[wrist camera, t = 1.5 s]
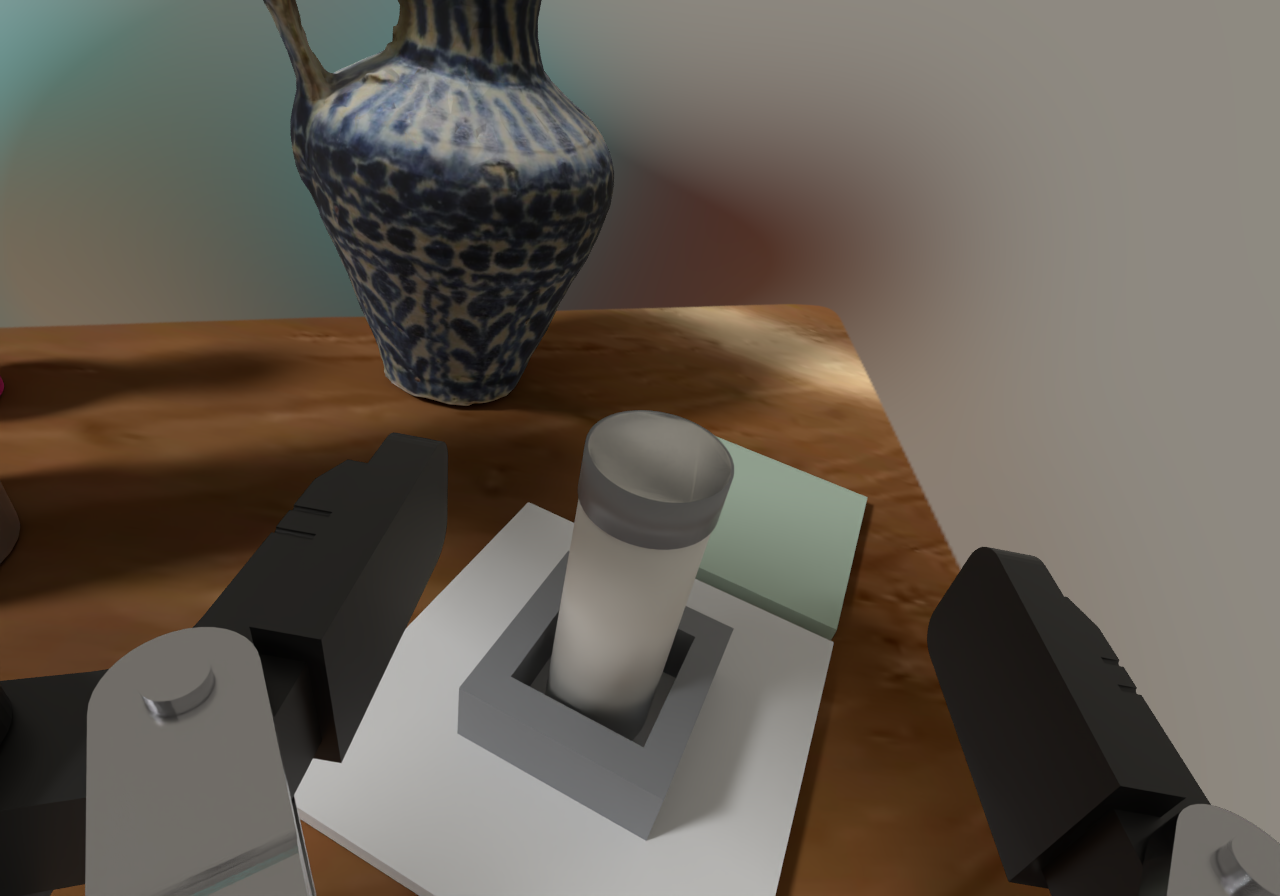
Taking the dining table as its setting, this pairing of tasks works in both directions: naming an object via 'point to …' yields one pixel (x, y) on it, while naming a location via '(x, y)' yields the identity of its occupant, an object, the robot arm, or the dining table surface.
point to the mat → (784, 541)
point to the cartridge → (633, 560)
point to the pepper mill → (1, 385)
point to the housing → (572, 747)
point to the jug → (450, 188)
